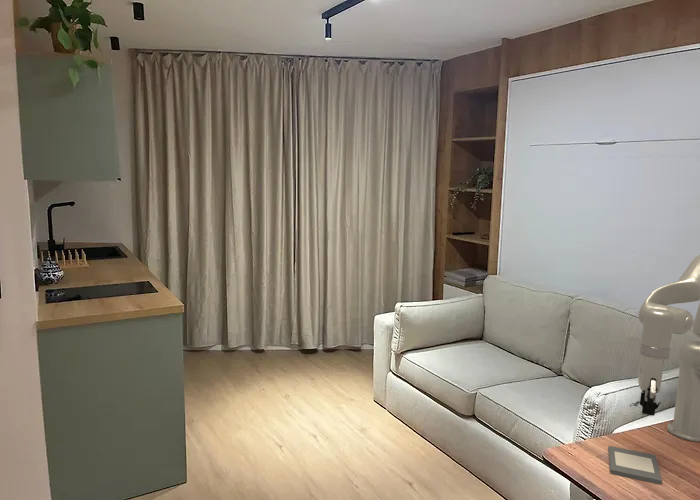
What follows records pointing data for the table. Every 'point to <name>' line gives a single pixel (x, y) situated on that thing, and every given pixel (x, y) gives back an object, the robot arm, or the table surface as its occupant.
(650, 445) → the table surface
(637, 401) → the creature
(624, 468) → the grey picture mat
